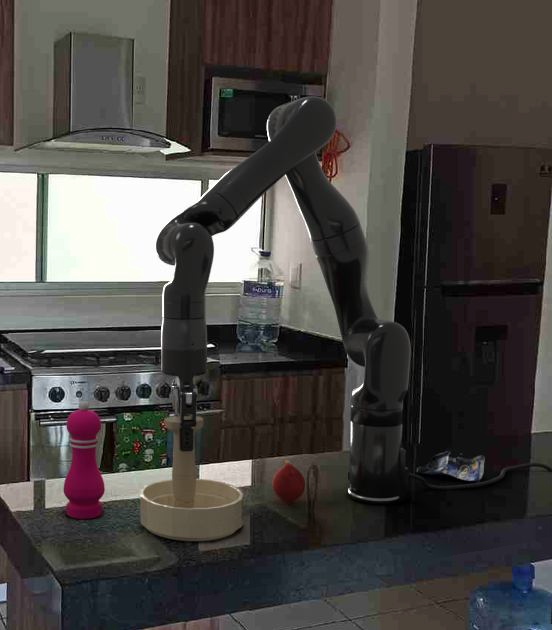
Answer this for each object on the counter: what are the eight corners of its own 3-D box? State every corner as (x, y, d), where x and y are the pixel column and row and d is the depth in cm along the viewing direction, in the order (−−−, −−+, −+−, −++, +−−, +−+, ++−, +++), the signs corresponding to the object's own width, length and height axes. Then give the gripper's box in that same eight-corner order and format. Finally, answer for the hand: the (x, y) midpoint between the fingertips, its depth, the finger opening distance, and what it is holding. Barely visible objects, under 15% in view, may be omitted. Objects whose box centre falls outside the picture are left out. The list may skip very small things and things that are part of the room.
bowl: (232, 507, 148) (233, 477, 148) (252, 541, 131) (252, 508, 131) (137, 509, 147) (137, 479, 147) (143, 544, 130) (143, 510, 130)
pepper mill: (73, 522, 140) (72, 406, 139) (57, 510, 147) (56, 399, 145) (111, 516, 144) (111, 402, 142) (94, 504, 150) (93, 395, 148)
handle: (207, 510, 137) (207, 420, 135) (170, 513, 135) (170, 423, 134) (197, 501, 141) (197, 414, 140) (161, 504, 139) (161, 417, 138)
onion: (306, 501, 152) (307, 458, 151) (302, 510, 147) (303, 466, 146) (274, 498, 154) (275, 455, 153) (269, 507, 148) (270, 463, 148)
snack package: (442, 487, 161) (494, 481, 163) (438, 454, 161) (491, 449, 164) (408, 481, 172) (457, 475, 175) (405, 450, 173) (454, 445, 176)
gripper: (213, 350, 129) (213, 457, 130) (201, 339, 143) (201, 436, 144) (165, 351, 128) (165, 458, 130) (157, 340, 143) (158, 437, 144)
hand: (184, 446), depth 137 cm, fingers closed on handle, 5 cm apart
